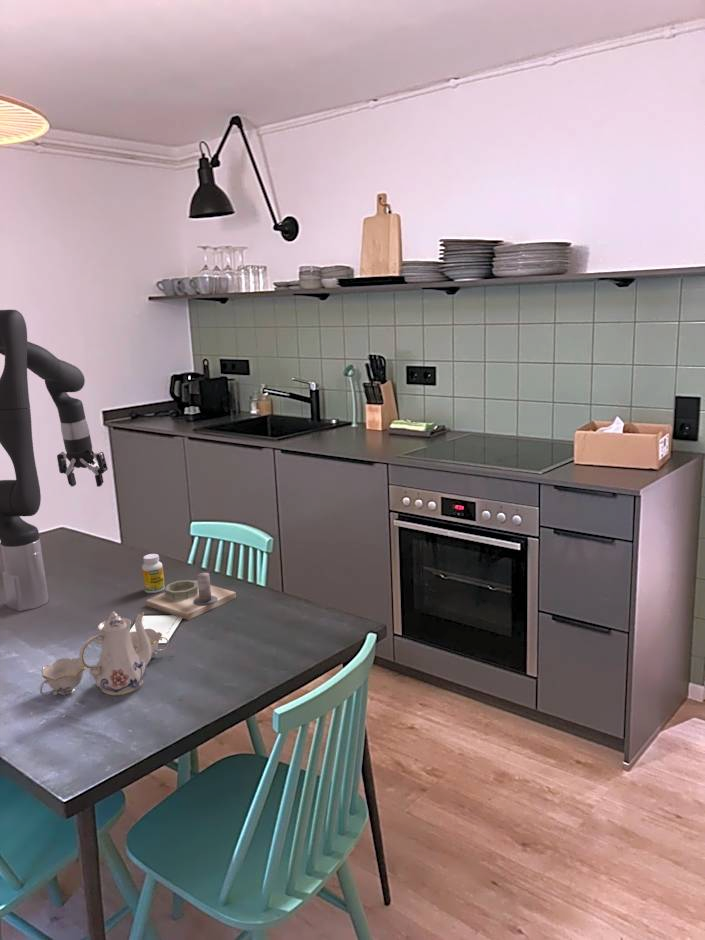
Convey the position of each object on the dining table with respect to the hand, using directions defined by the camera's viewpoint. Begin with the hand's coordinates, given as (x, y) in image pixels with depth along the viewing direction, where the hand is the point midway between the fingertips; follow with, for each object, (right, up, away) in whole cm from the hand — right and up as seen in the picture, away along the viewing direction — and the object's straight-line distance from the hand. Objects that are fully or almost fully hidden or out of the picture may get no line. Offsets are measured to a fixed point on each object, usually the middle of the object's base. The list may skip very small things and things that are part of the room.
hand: (86, 485), depth 229 cm
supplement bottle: (+27, -28, -23) cm, 45 cm away
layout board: (+38, -29, -33) cm, 58 cm away
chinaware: (+31, -39, -71) cm, 87 cm away
